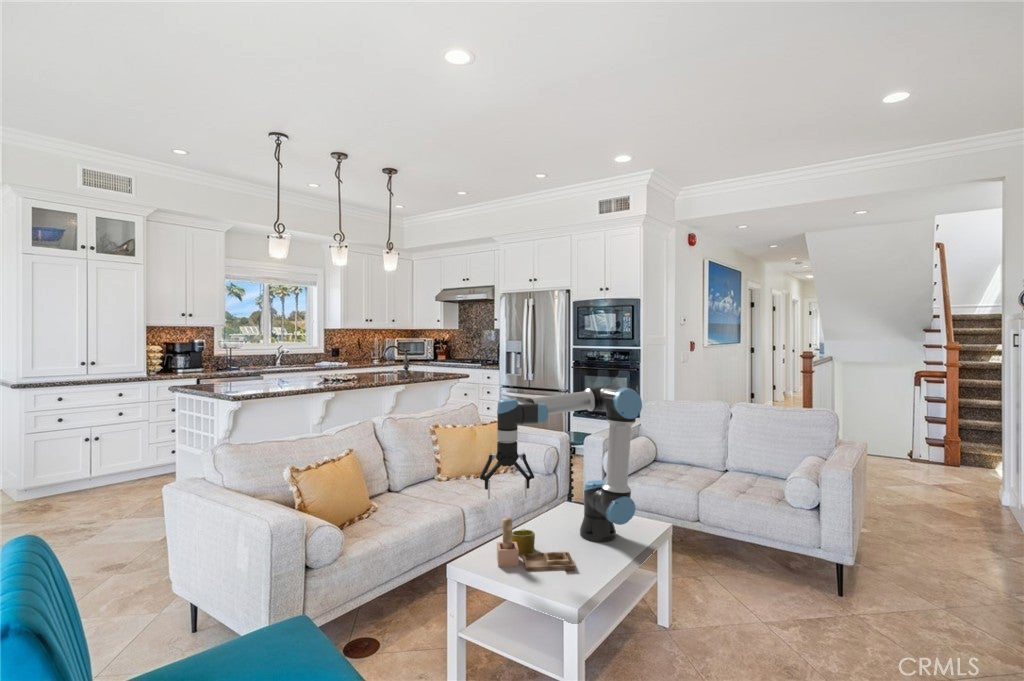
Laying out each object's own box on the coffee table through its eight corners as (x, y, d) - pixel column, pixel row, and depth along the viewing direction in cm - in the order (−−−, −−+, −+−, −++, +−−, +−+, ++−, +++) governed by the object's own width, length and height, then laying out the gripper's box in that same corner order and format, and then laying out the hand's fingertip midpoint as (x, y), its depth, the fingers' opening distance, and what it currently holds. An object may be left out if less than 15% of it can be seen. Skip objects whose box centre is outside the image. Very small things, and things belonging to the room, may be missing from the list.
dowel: (511, 559, 203) (511, 517, 203) (512, 563, 199) (512, 520, 199) (502, 560, 203) (502, 517, 202) (503, 564, 199) (503, 521, 199)
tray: (568, 557, 207) (568, 549, 207) (575, 571, 195) (575, 562, 195) (522, 559, 206) (522, 551, 205) (526, 573, 194) (526, 564, 194)
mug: (536, 555, 205) (529, 528, 207) (511, 561, 207) (505, 535, 209) (543, 549, 216) (536, 524, 219) (519, 555, 218) (513, 529, 221)
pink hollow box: (516, 559, 205) (516, 541, 205) (518, 568, 198) (518, 549, 197) (496, 560, 204) (496, 542, 204) (498, 569, 197) (498, 550, 197)
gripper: (539, 438, 205) (538, 493, 205) (473, 439, 203) (473, 495, 203) (542, 442, 198) (541, 499, 198) (474, 443, 195) (473, 501, 196)
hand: (507, 497), depth 200 cm, fingers open, 13 cm apart
